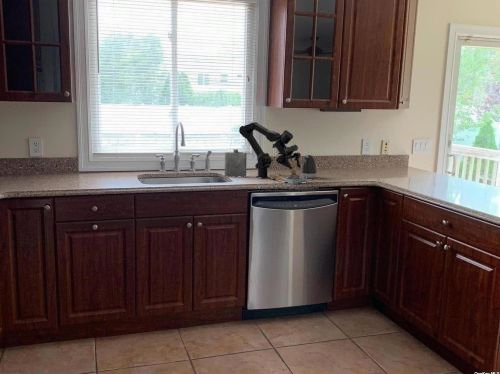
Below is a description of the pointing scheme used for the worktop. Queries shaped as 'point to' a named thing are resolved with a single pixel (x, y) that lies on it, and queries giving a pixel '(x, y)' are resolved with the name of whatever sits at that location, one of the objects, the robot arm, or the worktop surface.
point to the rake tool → (294, 171)
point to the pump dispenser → (309, 167)
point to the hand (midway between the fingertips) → (296, 168)
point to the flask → (235, 163)
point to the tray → (293, 180)
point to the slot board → (278, 176)
